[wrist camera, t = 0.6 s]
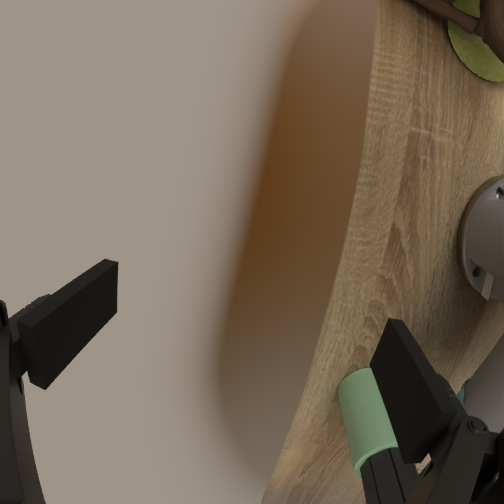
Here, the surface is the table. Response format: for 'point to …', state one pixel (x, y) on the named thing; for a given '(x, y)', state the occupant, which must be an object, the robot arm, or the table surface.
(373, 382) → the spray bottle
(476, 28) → the dark brown looped block
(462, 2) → the mat
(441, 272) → the table surface
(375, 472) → the cap
